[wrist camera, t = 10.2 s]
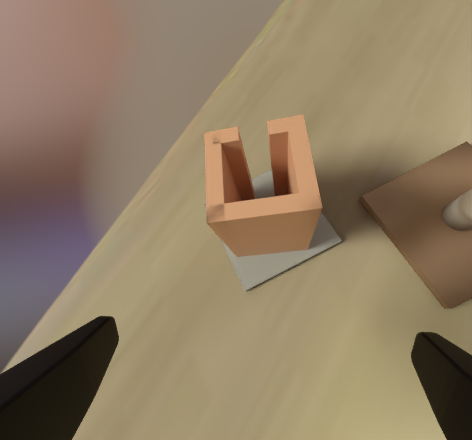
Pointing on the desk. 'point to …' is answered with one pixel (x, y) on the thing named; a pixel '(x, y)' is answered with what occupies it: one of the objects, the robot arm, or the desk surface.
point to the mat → (270, 265)
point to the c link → (264, 209)
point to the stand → (432, 222)
